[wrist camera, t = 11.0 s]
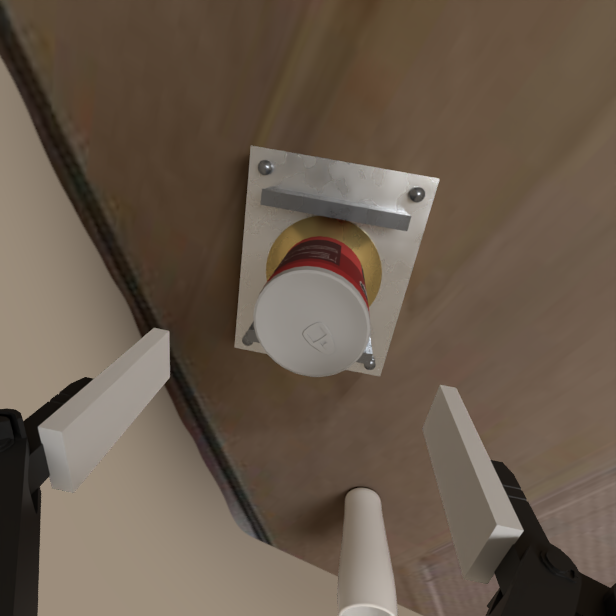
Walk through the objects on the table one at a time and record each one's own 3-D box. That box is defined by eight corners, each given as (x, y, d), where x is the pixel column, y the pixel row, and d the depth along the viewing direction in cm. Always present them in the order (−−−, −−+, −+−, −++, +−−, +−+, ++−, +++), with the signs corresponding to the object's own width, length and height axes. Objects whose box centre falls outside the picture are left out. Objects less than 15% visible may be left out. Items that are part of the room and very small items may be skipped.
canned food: (330, 327, 34) (322, 397, 24) (266, 279, 33) (229, 331, 22) (382, 271, 31) (398, 323, 21) (314, 216, 30) (296, 243, 20)
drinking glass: (351, 475, 49) (351, 597, 35) (393, 491, 49) (410, 618, 35) (333, 503, 52) (327, 626, 38) (373, 518, 52) (382, 646, 38)
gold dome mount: (264, 148, 33) (240, 143, 25) (426, 176, 32) (449, 180, 25) (247, 326, 41) (225, 362, 34) (376, 352, 40) (382, 394, 33)
